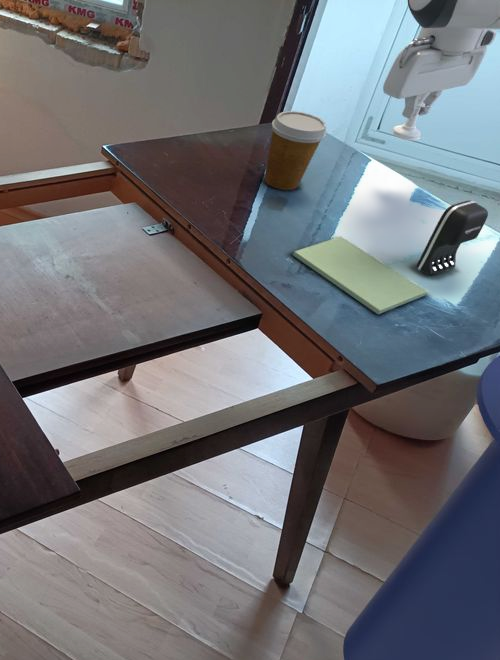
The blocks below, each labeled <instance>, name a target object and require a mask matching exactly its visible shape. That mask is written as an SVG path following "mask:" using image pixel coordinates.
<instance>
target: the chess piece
mask: <svg viewBox="0 0 500 660" xmlns="http://www.w3.org/2000/svg"><path fill="white" fill-rule="evenodd" d="M429 94H430V93H426V94H422V96H421V98H420V100H418V102H417V107H418V108H419V110H420V107H425V103H423V101H424V100H425V99H426V98H427V96H428V95H429ZM419 110H418V112H417V114H416V116H415V117H412V118H407V119H406V121H405V123H403V124H401V125H395V126H393V128H392V130H391V134H392V135H393V136H394V137H397V138H399V139H402V140H406V141H418V140H420V139H421V136H422V132H421V131H420V130H419V129H418V128H417V126H416V123H417V120H418V118H419V114H418V113H419Z"/></svg>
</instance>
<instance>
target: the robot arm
mask: <svg viewBox="0 0 500 660" xmlns="http://www.w3.org/2000/svg"><path fill="white" fill-rule="evenodd" d="M407 6H408V9H409V12H410V13H411V15H412V17H413V19H414V20H415V21H416V23H417V24H418V25H419V26H420V27H421V28H420V29H419V32H418V35H417V38H413V39H412V40H411V42H410V43H409V44H408V45H406V46H405V47H404V48H402V50H401V51H400V52H399V53H398V55H397V56H396V57H395V59H394V61H393V63H392V66H391V67H390V70H389V72H388V73H387V76H386V78H385V80H384V83H383V87H382V90H383V93H384V94H385V95H387V96H390V97H391V98H394V99H396V100H397V99H398V100H402V99H404V108H403V111H402V112H401V113H402V115H401V116H403V117H404V118H405V119H406V118H407V119H408V118H412V117H415V116H416V114H417V112H418V110H419V108H418V107H417V102H418V100H420V98H421V96H422V94H426V93H430V94H429V95H428V96H427V98H426V99H425V100H424V101H423V103H425V107H420V110H419V113H418V116H424V115H428V114H429V113H430V112H429V111H430V110H431V108H432V106H433V105H434V103H435V102H436V101H437V100H438V99H439V98H440V97H441V95H442V92H443V91H444V90H449V89H454V88H460V87H465V86H467V85H468V84H469V83H470V82H471V81H472V80H473V78H474V77H475V75H476V73H477V71H478V70H479V68H480V65H481V64H482V62H483V59H484V58H485V55H486V53H487V49H488V46H491V45H492V43H493V42H494V40H495V39H496V36H497V32H496V31H495V30H500V0H407Z"/></svg>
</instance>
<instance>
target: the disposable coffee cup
mask: <svg viewBox="0 0 500 660" xmlns="http://www.w3.org/2000/svg"><path fill="white" fill-rule="evenodd" d="M271 127H272V133H271V138H270V144H269V149H268V150H269V151H268V156H267V162H266V169H265V173H264V177H263V178H264V182H265V184H267V185H269V186H270V187H272V188H275V189H279V190H284V191H290V190H295V189H297V188H298V187H299V185H300V182H301V181H302V178H303V176H304V175H305V173H306V170H307V169H308V167H309V164H310V163H311V161H312V159H313V157H314V156H315V153H316V151H317V149H318V147H319V145H320V143H321V142H322V141H323V139H324V138H325V137H326V135H327V124H326V122H325V121H324V120H323V119H322V118H320V117H318V116H316V115H314V114H311V113H307V112H303V111H296V110H288V111H282V112H279V113H278V114H277V115H276V117H275V118H274V119H273V120H272V123H271Z"/></svg>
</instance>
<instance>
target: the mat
mask: <svg viewBox="0 0 500 660" xmlns="http://www.w3.org/2000/svg"><path fill="white" fill-rule="evenodd" d="M292 256H293V257H295V258H296V259H297V260H298V261H300V262H301V263H303V264H305V265H306V266H308V267H309V268H310V269H312V270H313V271H315V272H316V273H318V274H319V275H321V276H322V277H323V278H325V279H326V280H328V282H331V283H332V284H334V285H335V286H337V287H338V288H339V289H340V290H342V291H344V293H346V294H348V295H349V296H351V297H352V298H354V299H355V300H356V301H357V302H359V303H360V304H362V305H364V306H365V307H366V308H368V309H369V310H371V311H372V312H374V313H375V314H377V315H381V314H383V313H385V312H388V311H390V310H393V309H395V308H397V307H400V306H402V305H405V304H407V303H410V302H412V301H415V300H417V299H420V298H422V297H425V296H426V295H427V293H428V290H426V289H425V288H424V287H421V286H420V285H418V284H417V283H415V282H413V281H412V280H410V279H409V278H408V277H406V276H404V275H402V274H401V273H399V272H398V271H396V270H395V269H393V268H392V267H390V266H388V265H387V264H386V263H384V262H382V261H380V260H379V259H378V258H377V257H375V256H373V255H371V254H370V253H368V252H366V251H365V250H363V249H362V248H360V247H358V246H356V245H355V244H353V243H352V242H350V241H349V240H348V239H346V238H345V237H343V236H337V237H334V238H331V239H328V240H326V241H325V240H324V241H321V242H319V243H315V244H313V245H310V246H306V247H304V248H301V249H297V250H294V251H293V254H292Z"/></svg>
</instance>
